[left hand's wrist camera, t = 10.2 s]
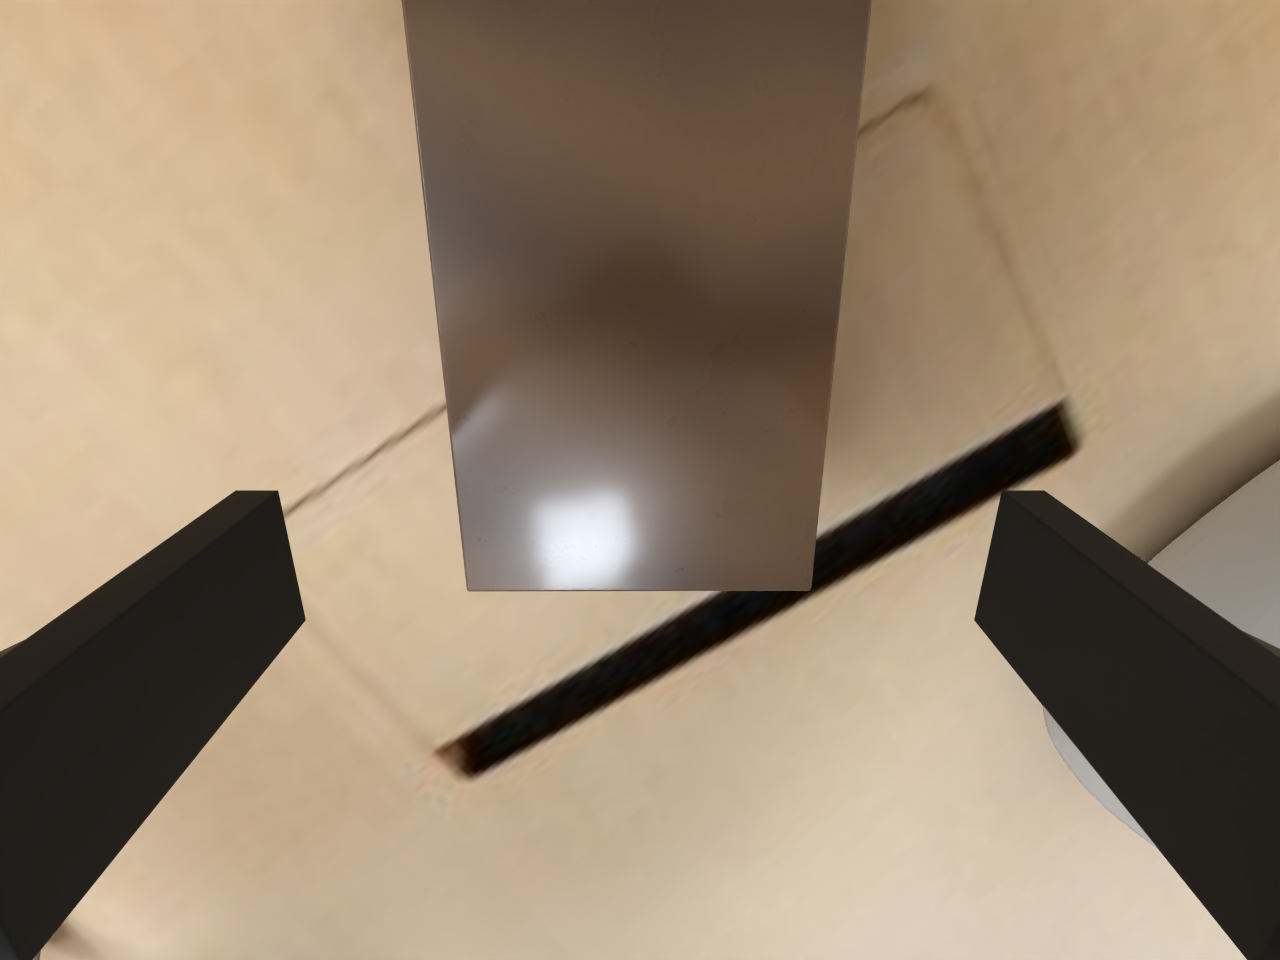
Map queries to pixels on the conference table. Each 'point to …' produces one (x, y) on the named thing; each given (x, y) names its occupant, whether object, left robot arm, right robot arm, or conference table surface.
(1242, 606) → the projector
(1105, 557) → the left robot arm
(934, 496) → the conference table surface
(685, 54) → the cabinet
